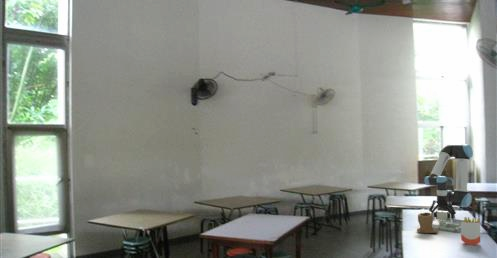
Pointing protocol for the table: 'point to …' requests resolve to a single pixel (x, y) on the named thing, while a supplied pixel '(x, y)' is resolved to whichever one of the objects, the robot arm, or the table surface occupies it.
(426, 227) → the stone cup
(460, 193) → the robot arm
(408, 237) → the table surface
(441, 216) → the pneumatic valve
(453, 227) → the docking tray
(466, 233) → the french fries container
